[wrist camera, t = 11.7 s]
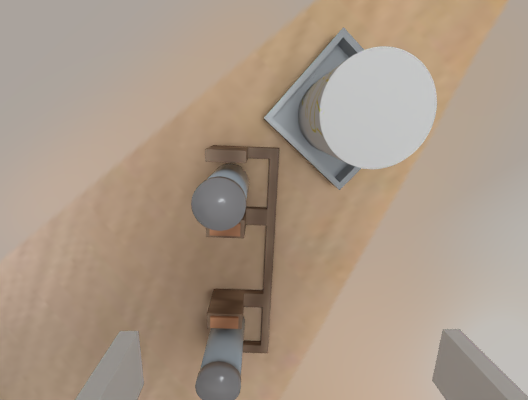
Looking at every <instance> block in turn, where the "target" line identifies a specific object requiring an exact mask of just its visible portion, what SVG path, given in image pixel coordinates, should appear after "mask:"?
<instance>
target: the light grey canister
mask: <svg viewBox="0 0 528 400" xmlns="http://www.w3.org/2000/svg"><path fill="white" fill-rule="evenodd" d="M436 107H437V96H436V89H435V85H434V82H433V79H432V77H431V75H430V73H429V71H428V70H427V68H426V67H425V65H424V64H423V63H422V62H421V61H420V60H419V59H418V58H417V57H415V56H414V55H412V54H411V53H409V52H407V51H405V50H402V49H399V48H395V47H374V48H369V49H366V50H363V51H361V52H359V53H357V54H355V55H353V56H351V57H350V58H348V59H347V60H346V61H344V62H343V63H342V64H340V65H339V66H337V67H336V68H335V69H333V70H332V71H331V72H329V73H328V74H326V75H325V76H324V77H322V78H321V79H320V80H318V81H317V82H315V83H314V84H313V85H312V86H311V87H310V88H309V89H308V90H307V91H306V93H305V94H304V96H303V98H302V100H301V102H300V105H299V110H298V123H299V127H300V130H301V133H302V135H303V136H304V138H305V139H306V141H307V142H308V143H309V144H310V145H312V146H313V147H315V148H316V149H318V150H320V151H323V152H325V153H327V154H329V155H331V156H333V157H335V158H337V159H340V160H342V161H344V162H346V163H348V164H350V165H353V166H355V167H359V168H363V169H381V168H386V167H389V166H392V165H395V164H397V163H399V162H401V161H403V160H404V159H406V158H407V157H409V156H410V155H411V154H413V153H414V152H415V151H416V150H417V149H418V148H419V147H420V145H421V144H422V143H423V142H424V140H425V139H426V137H427V135H428V134H429V132H430V130H431V127H432V125H433V122H434V118H435V114H436Z"/></svg>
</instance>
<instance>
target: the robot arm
mask: <svg viewBox="0 0 528 400" xmlns="http://www.w3.org/2000/svg"><path fill="white" fill-rule="evenodd" d="M432 381H433V382H434V384H435V385H436V386H437V388H438V389H439V391H440V392H441V394H442V395H443V396H444V398H445V399H446V400H528V396H527V395H526V394H525V393H523V391H522V390H521V389H520V388H519V387H518V386H517V385H516V384H515V383H514V382H513V381H511V379H509V378H508V377H507V376H506V375H505V374H504V373H503V372H502V371H501V370H500V369H499V368H498V367H497V366H496V365H495V364H494V363H493V362H492V361H491V360H490V359H489V358H488V357H487V356H486V355H485V354H484V353H483V352H482V351H481V350H480V349H479V348H478V347H477V346H476V345H475V344H474V343H473V342H472V341H471V340H470V339H469V338H468V337H467V336H466V335H465V334H464V333H463V332H462V331H461V330H460V329H443V331H442V336H441V340H440V345H439V351H438V355H437V360H436V365H435V369H434V374H433V379H432ZM143 385H144V379H143V369H142V360H141V350H140V341H139V331H120V332H119V333H118V335H117V336H116V338H115V339H114V341H113V342H112V344H111V345H110V347H109V349H108V350H107V352H106V353H105V355H104V356H103V358H102V359H101V361H100V362H99V364H98V365H97V367H96V368H95V370H94V371H93V373H92V375H91V376H90V378H89V379H88V381H87V382H86V384H85V385H84V387H83V388H82V390H81V391H80V393H79V394H78V396H77V397H76V399H75V400H137V399H138V397H139V394H140V392H141V390H142V387H143Z"/></svg>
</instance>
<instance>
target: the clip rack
mask: <svg viewBox="0 0 528 400" xmlns="http://www.w3.org/2000/svg"><path fill="white" fill-rule="evenodd" d="M248 158H257V159H270V162H269V183H268V204H267V208H262V207H246V210H245V213H244V216H243V218H242V219H241V221H240V222H239V223H238V224H237V225H236V226H234V227H233V228H230V229H228V230H223V231H217V230H211V229H209V228H207V227H206V237H224V238H244V235H245V228H246V225H266V246H265V267H264V289H263V290H231V289H214V291H213V294H212V298H211V301H210V305H209V308H208V312H207V328H217V329H242V320H243V309H244V307H263V310H262V331H261V341H243V352H245V353H268V343H269V325H270V307H271V289H272V271H273V253H274V235H275V217H276V199H277V181H278V163H279V148H264V147H240V146H217V145H213V146H211V147H209V148H207V149H205V160H206V161H208V162H232V163H246V162H247V159H248ZM241 365H242V364H241Z"/></svg>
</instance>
